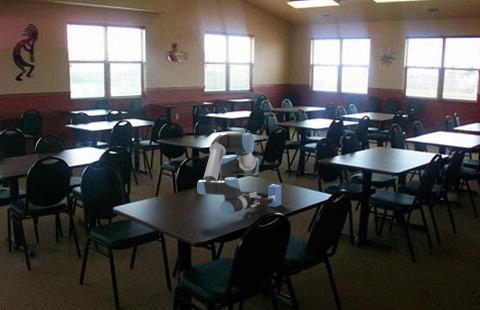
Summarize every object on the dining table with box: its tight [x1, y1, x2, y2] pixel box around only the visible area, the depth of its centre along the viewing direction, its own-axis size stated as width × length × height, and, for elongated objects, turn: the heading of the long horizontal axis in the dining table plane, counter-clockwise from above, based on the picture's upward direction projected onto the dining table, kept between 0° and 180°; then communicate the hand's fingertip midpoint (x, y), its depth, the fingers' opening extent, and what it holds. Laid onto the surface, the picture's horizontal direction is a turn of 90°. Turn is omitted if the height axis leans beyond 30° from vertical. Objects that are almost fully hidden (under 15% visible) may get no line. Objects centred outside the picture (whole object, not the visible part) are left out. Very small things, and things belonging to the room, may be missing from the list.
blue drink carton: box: [267, 183, 282, 208], centre depth 297 cm, size 7×5×13 cm
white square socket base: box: [238, 193, 262, 208], centre depth 304 cm, size 16×16×4 cm
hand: (265, 195), depth 289 cm, fingers open, 13 cm apart
